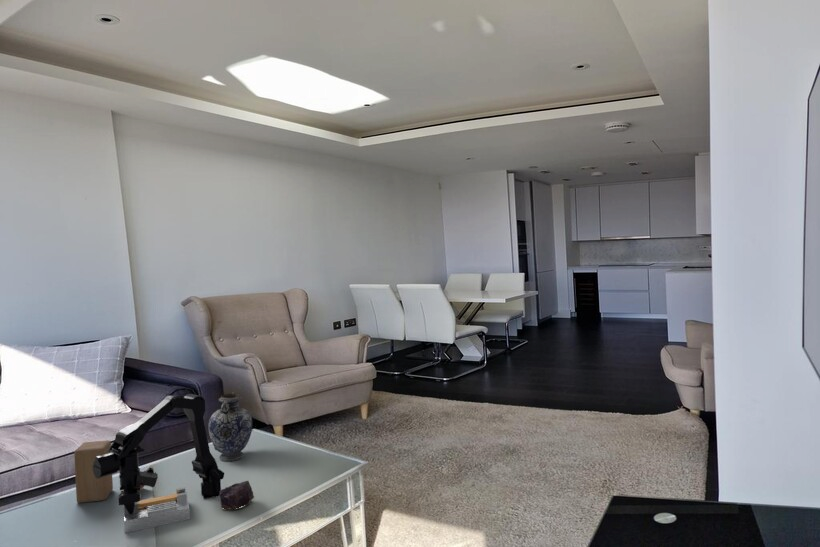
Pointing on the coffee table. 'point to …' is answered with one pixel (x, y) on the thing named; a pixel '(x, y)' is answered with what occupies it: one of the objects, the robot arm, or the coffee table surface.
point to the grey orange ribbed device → (159, 513)
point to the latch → (133, 511)
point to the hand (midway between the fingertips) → (131, 513)
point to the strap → (157, 500)
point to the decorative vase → (230, 428)
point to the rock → (236, 495)
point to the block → (91, 472)
